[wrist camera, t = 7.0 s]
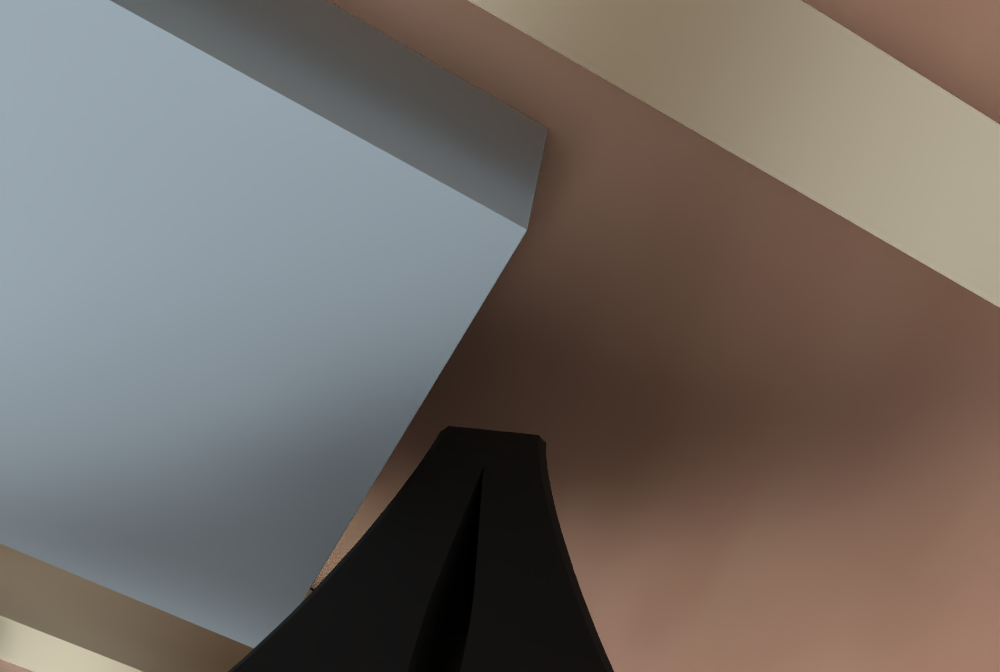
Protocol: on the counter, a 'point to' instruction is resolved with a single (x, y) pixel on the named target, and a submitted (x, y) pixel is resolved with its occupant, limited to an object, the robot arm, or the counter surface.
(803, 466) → the counter surface
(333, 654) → the robot arm
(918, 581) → the counter surface
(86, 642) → the channel
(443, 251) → the block
